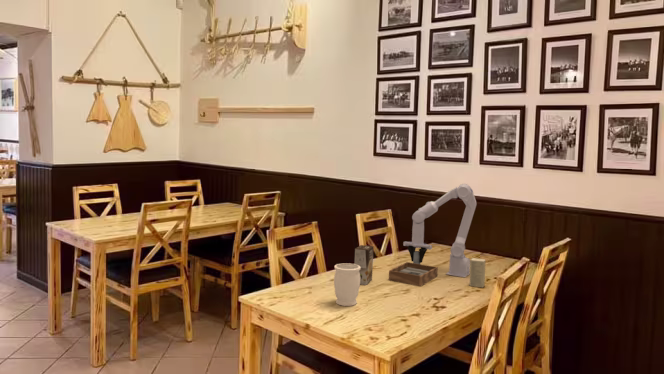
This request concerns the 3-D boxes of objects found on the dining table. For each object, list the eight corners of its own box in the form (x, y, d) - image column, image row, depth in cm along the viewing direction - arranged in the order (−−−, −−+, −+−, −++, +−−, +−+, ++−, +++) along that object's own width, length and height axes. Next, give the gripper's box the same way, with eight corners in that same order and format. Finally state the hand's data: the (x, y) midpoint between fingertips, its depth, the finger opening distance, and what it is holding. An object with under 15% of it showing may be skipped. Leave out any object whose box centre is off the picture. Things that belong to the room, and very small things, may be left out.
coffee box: (367, 285, 238) (368, 250, 236) (353, 283, 240) (354, 248, 238) (372, 280, 246) (373, 246, 245) (359, 278, 248) (360, 244, 247)
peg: (421, 265, 267) (422, 251, 266) (418, 266, 264) (419, 253, 263) (414, 264, 269) (415, 250, 268) (411, 265, 266) (412, 252, 265)
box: (406, 270, 264) (407, 262, 264) (437, 276, 256) (437, 267, 255) (388, 280, 247) (389, 270, 247) (420, 286, 239) (421, 276, 238)
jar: (350, 309, 206) (352, 271, 204) (328, 303, 211) (329, 266, 210) (364, 302, 215) (365, 265, 213) (342, 297, 220) (343, 261, 219)
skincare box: (484, 285, 243) (486, 259, 242) (482, 288, 239) (484, 261, 238) (470, 283, 246) (472, 257, 245) (468, 285, 242) (470, 259, 241)
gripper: (401, 234, 265) (400, 261, 267) (428, 238, 258) (427, 265, 259) (407, 232, 271) (406, 258, 273) (434, 235, 263) (432, 262, 265)
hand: (416, 261), depth 266 cm, fingers closed on peg, 4 cm apart
